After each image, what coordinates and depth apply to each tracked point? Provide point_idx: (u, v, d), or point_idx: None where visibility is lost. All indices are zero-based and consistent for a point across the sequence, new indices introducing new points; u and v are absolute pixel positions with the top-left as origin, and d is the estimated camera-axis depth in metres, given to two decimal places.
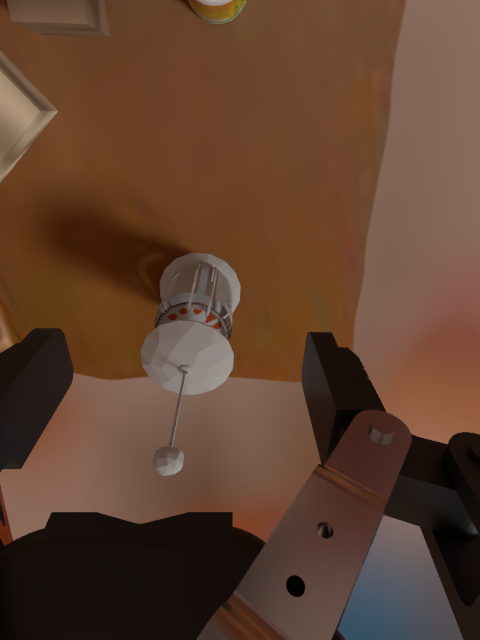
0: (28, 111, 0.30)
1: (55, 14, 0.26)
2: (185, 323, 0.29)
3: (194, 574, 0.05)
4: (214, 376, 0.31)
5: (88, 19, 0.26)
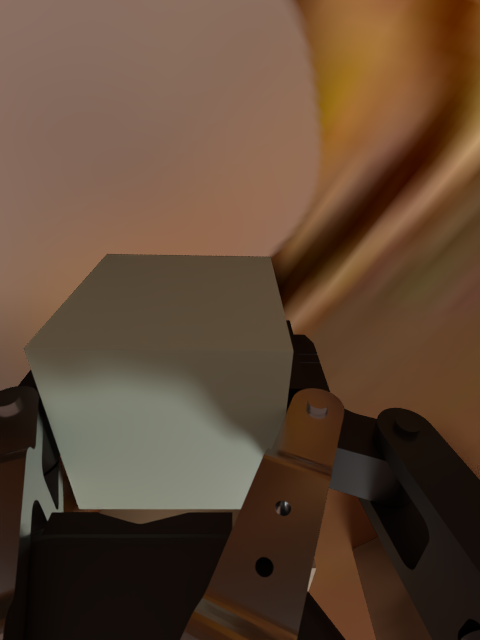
0: None
1: None
2: None
3: (194, 574, 0.05)
4: None
5: None
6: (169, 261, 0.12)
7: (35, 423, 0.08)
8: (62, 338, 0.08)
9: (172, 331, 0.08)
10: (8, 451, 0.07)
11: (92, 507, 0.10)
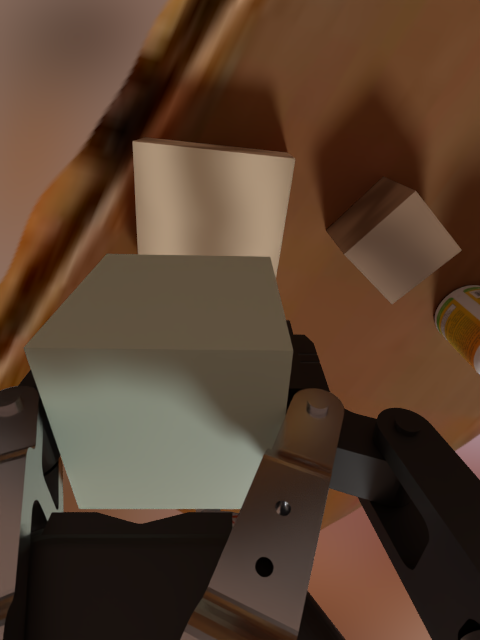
0: None
1: (379, 280, 0.25)
2: None
3: (194, 574, 0.05)
4: None
5: (393, 299, 0.26)
6: (169, 261, 0.12)
7: (35, 423, 0.08)
8: (62, 338, 0.08)
9: (172, 330, 0.08)
10: (8, 451, 0.07)
11: (92, 507, 0.10)
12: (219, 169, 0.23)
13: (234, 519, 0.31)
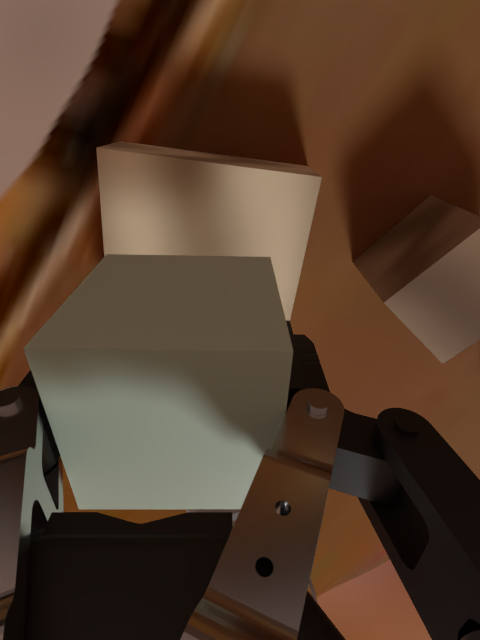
0: None
1: (428, 334, 0.18)
2: None
3: (194, 574, 0.05)
4: None
5: (444, 357, 0.20)
6: (169, 261, 0.12)
7: (35, 423, 0.08)
8: (62, 338, 0.08)
9: (172, 330, 0.08)
10: (8, 451, 0.07)
11: (92, 507, 0.10)
12: (217, 189, 0.16)
13: None
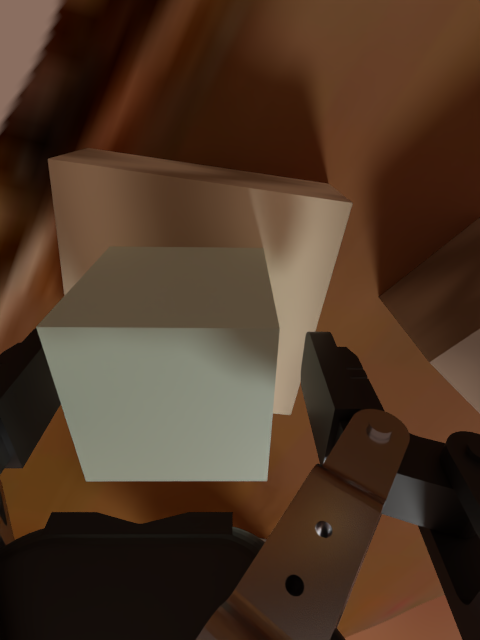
0: (277, 404, 0.17)
1: None
2: None
3: (194, 574, 0.05)
4: None
5: None
6: (168, 252, 0.12)
7: None
8: (70, 318, 0.08)
9: (171, 312, 0.09)
10: None
11: (98, 479, 0.11)
12: (213, 216, 0.12)
13: None
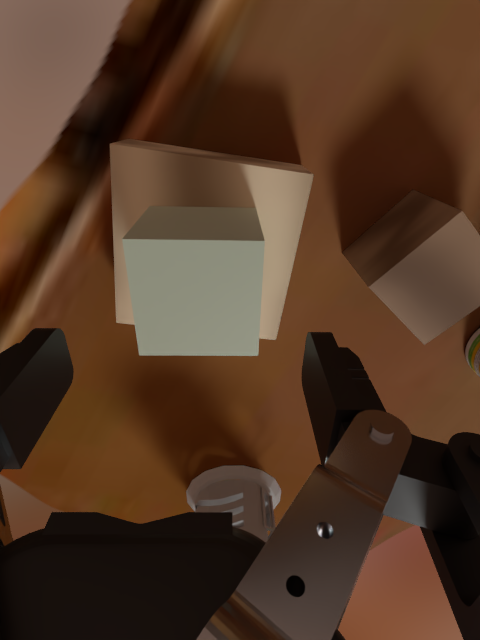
0: (265, 330, 0.22)
1: (410, 317, 0.20)
2: None
3: (194, 574, 0.05)
4: None
5: (426, 339, 0.21)
6: (190, 209, 0.18)
7: None
8: (140, 236, 0.14)
9: (199, 234, 0.14)
10: None
11: (147, 353, 0.16)
12: (219, 183, 0.18)
13: None
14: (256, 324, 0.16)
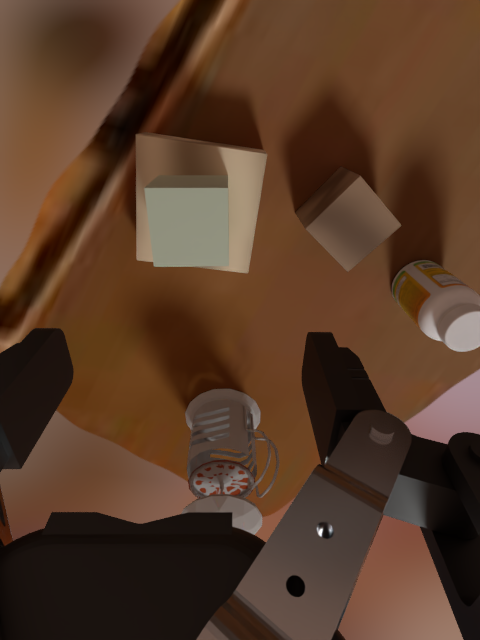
0: (240, 266, 0.32)
1: (335, 251, 0.30)
2: (248, 505, 0.33)
3: (194, 574, 0.05)
4: None
5: (349, 268, 0.31)
6: (185, 176, 0.28)
7: None
8: (154, 187, 0.24)
9: (189, 186, 0.24)
10: None
11: (159, 265, 0.26)
12: (206, 160, 0.28)
13: (220, 463, 0.37)
14: (226, 243, 0.25)
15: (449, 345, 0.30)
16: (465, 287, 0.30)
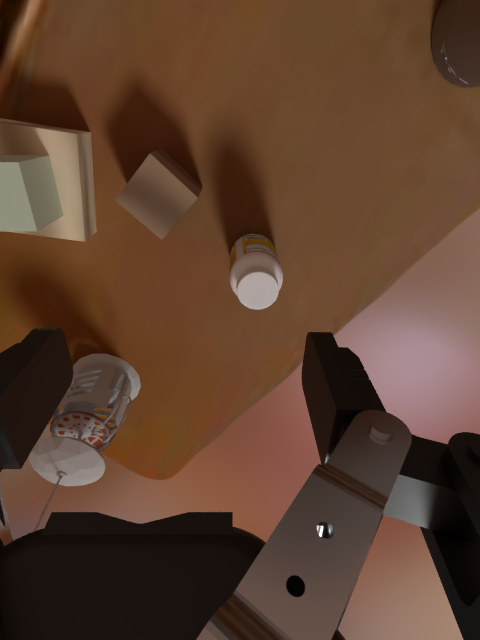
0: (76, 234, 0.37)
1: (146, 220, 0.34)
2: (85, 446, 0.38)
3: (194, 574, 0.05)
4: (78, 484, 0.40)
5: (164, 236, 0.35)
6: (9, 155, 0.32)
7: None
8: None
9: None
10: None
11: None
12: (24, 139, 0.32)
13: (73, 413, 0.41)
14: (29, 211, 0.30)
15: (243, 303, 0.34)
16: (262, 253, 0.35)
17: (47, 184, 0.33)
